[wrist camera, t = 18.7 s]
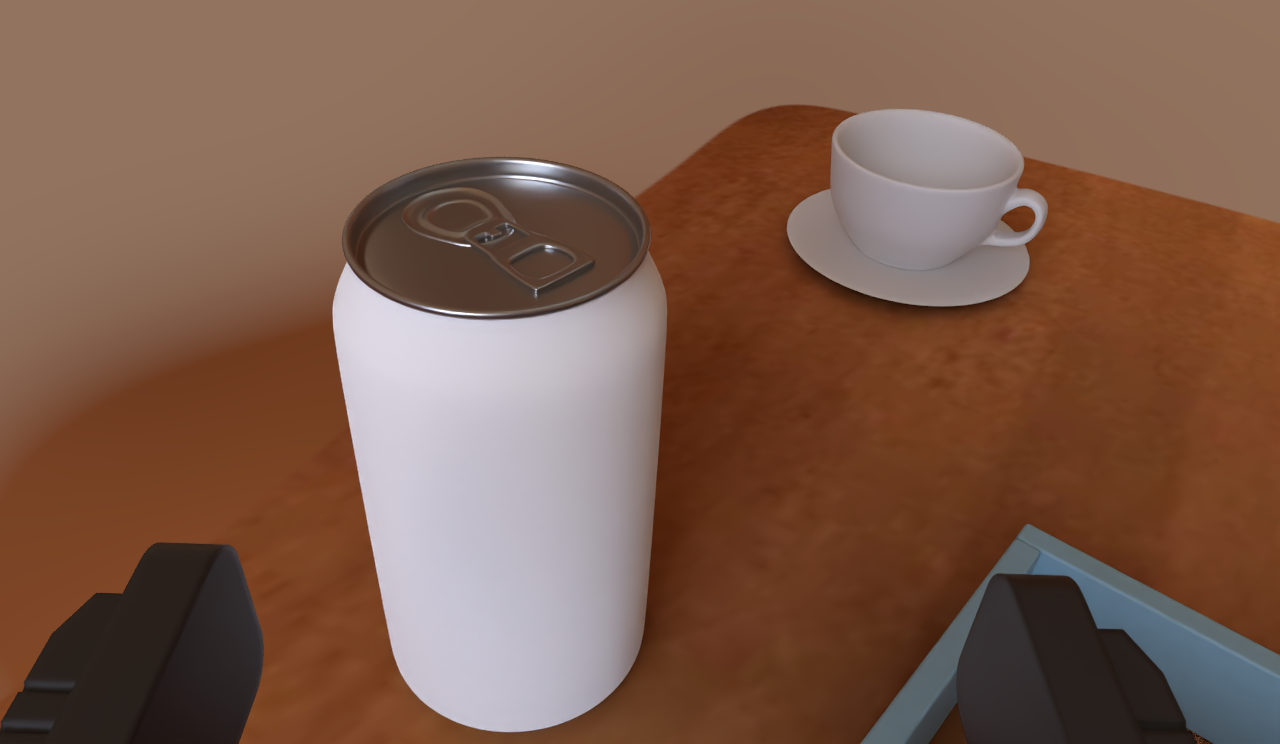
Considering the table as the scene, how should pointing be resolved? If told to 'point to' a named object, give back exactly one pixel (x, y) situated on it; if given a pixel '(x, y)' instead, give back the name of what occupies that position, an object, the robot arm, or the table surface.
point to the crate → (1163, 628)
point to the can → (505, 430)
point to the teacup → (918, 210)
